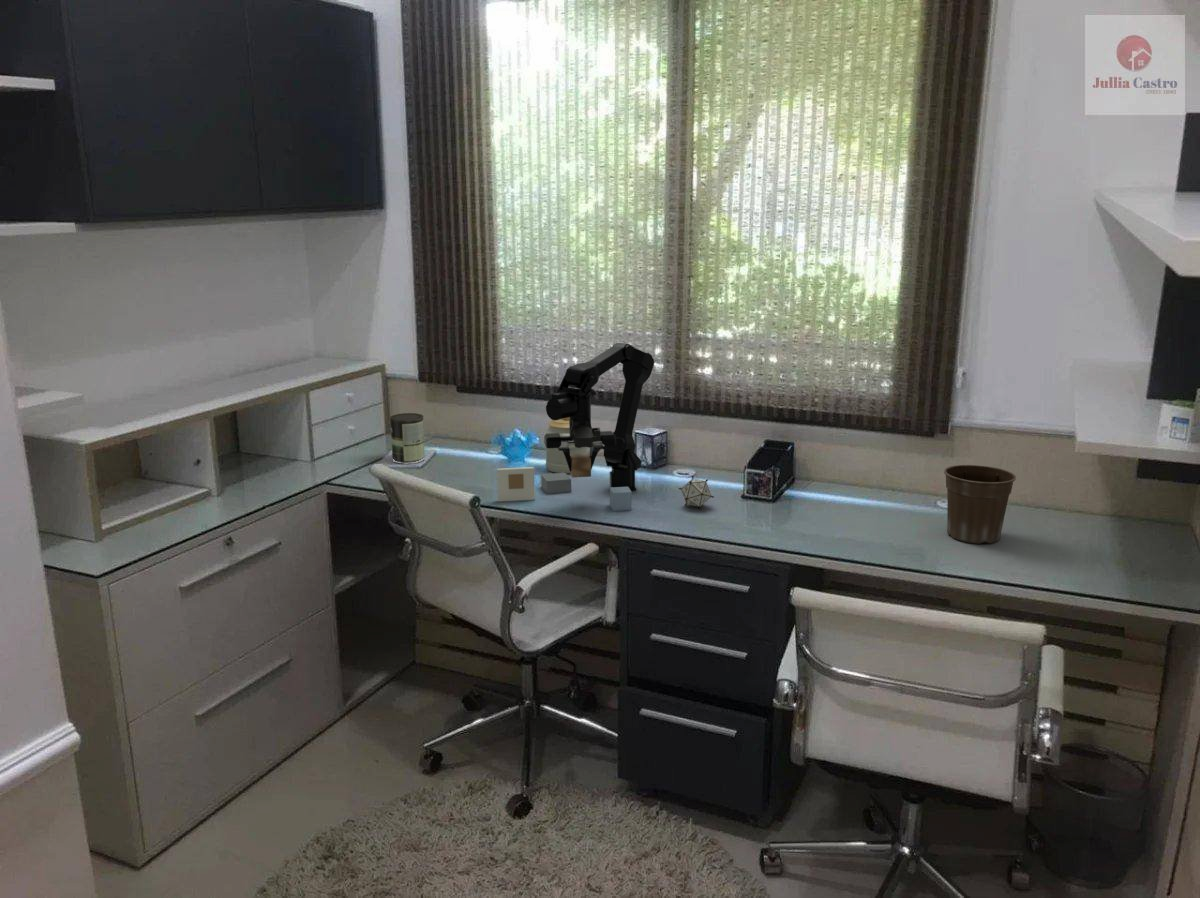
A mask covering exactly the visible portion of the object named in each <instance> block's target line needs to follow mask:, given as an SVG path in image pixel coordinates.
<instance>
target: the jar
mask: <svg viewBox="0 0 1200 898" xmlns="http://www.w3.org/2000/svg"><path fill="white" fill-rule="evenodd" d="M547 426H549V427H548V428H547V429H546V430H545V435H546V434H548V433H559V434H560V436H561V437H565V436H569V417H568V418H564V419H560V420H552V419H551V420H550V421H548V424H547ZM568 447H569V448H570V455H571V454H589V448H588V447H581V448H576V447H575V445H574V443H568ZM545 448H546V447H545ZM545 451H546V452H545V453H546V457H545V458H546V460H545V466H546V469H547V471H549V472H552V473H566V474H567V475H568V474H570V470H569V467H568V464H567V461H566V458H565V456H564V453H563V451H559V450H558V448H546V449H545Z"/></svg>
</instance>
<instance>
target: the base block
mask: <svg viewBox="0 0 1200 898" xmlns="http://www.w3.org/2000/svg"><path fill="white" fill-rule="evenodd" d="M540 480H541V481H540V485H541V486H540V487H541V488H542V490H543V491H544V492H545V493H546V495H551V494H552V495H553V494H554V495H555V494H561V493H562V494H563V493H564V494H565V493H572V479H571V477H570V476H569V475H568V474H566V473H555V472H553V473H546V474H545V473H543V474H540Z"/></svg>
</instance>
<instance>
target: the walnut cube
mask: <svg viewBox="0 0 1200 898" xmlns="http://www.w3.org/2000/svg"><path fill="white" fill-rule="evenodd" d="M589 455H590V453H588V454H571V455H570V458H571V471H570V473H569V474H570V475H571V478H572V479H573V478H588V477H589V478H590V477H592V469H591V458H590V456H589Z"/></svg>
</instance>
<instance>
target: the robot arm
mask: <svg viewBox="0 0 1200 898" xmlns="http://www.w3.org/2000/svg"><path fill="white" fill-rule="evenodd" d="M618 364H622V369H621V370H622V371H621V372H622V373H623V374H622V375H623V377H624V380H625V381H624V382H625V383H624V387H623V393H622V396H621V399H620V400H621V402H620V404H619V405H620V406H619V410H618V414H617V415H618V416H617V420H616V424H615V429H614V431H611V430H606V431H605V430H603V431H601V427H592V411H591V410H592V408H591V407H592V406H591V405H592V404H591V403H592V397H593V396H596V395H597V392H596V391H595V390H593V389H592V388H593V387H594V386H595V385H596V384H597V383H598V382H599V379H600V377H601V376H602V375H603V374H605V373H606V372H607V371H609V370H611V369H613V368H614V367H615V366H617V365H618ZM654 366H655V359H654V357H653V355H652V354H651V353H650V352H645V351H642V350H640V349H638V348H636V347H634V346H633V345H630V343H625V342H624V343H623V342H616V343H613V345H612V346H611V347H610V348H608V349H606V350H605V351H603V352H601V353H600V354H598V355H597V356H595V357H594V358H592V359H590V360H588V361H586V362H579V363H576V364H573V365H571V366H569V367H567V369H566V370H565V373H564V376H563V378H562V380H561V382H560V384H559V387H558V389H557V391H556V393H552V394H551V398H550V399H549V400H548V401H547V403H546V405H545V411H546V414H547V416H548V418H549V419H550V420H551V421H552V420H560V419H564V418H568V417H569V436H565V437H561V436H560V434H559V433H548V434H546V433H545V435H544V436H543V440H544V442H543V443H544V446H545V448H558V450H559V451H563V453H564V456H565V458H566V461H567V464H568V467H569V470H570V471H571V458H570V448H569V447H568V443H574V445H575V447H576V448H581V447H588V449H589V456H590V458H591V470H592V469H593V466H594V465H595V460H596V458H597V456H598V453H599V452H600V451H601V450H603V457H604V460H605V464H606V467H611V471H609V486H610V488H611V487H629V489H630V490H631V491H637V487H636V471H638V470H639V469H640V467H641V463H642V460H641V459H640V457H639V456H638V455H637V454H636V451H635V450H636V442H635V439H634V437H633V433H634V432H633V431H634V427H635V423H636V418H637V414H638V408H639V406H640V405H639V404H640V400H641V394H642V390H643V386H644V384H645V383H646V382H647V381H648V379H650V377H651V375H652V373H653V368H654Z"/></svg>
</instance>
